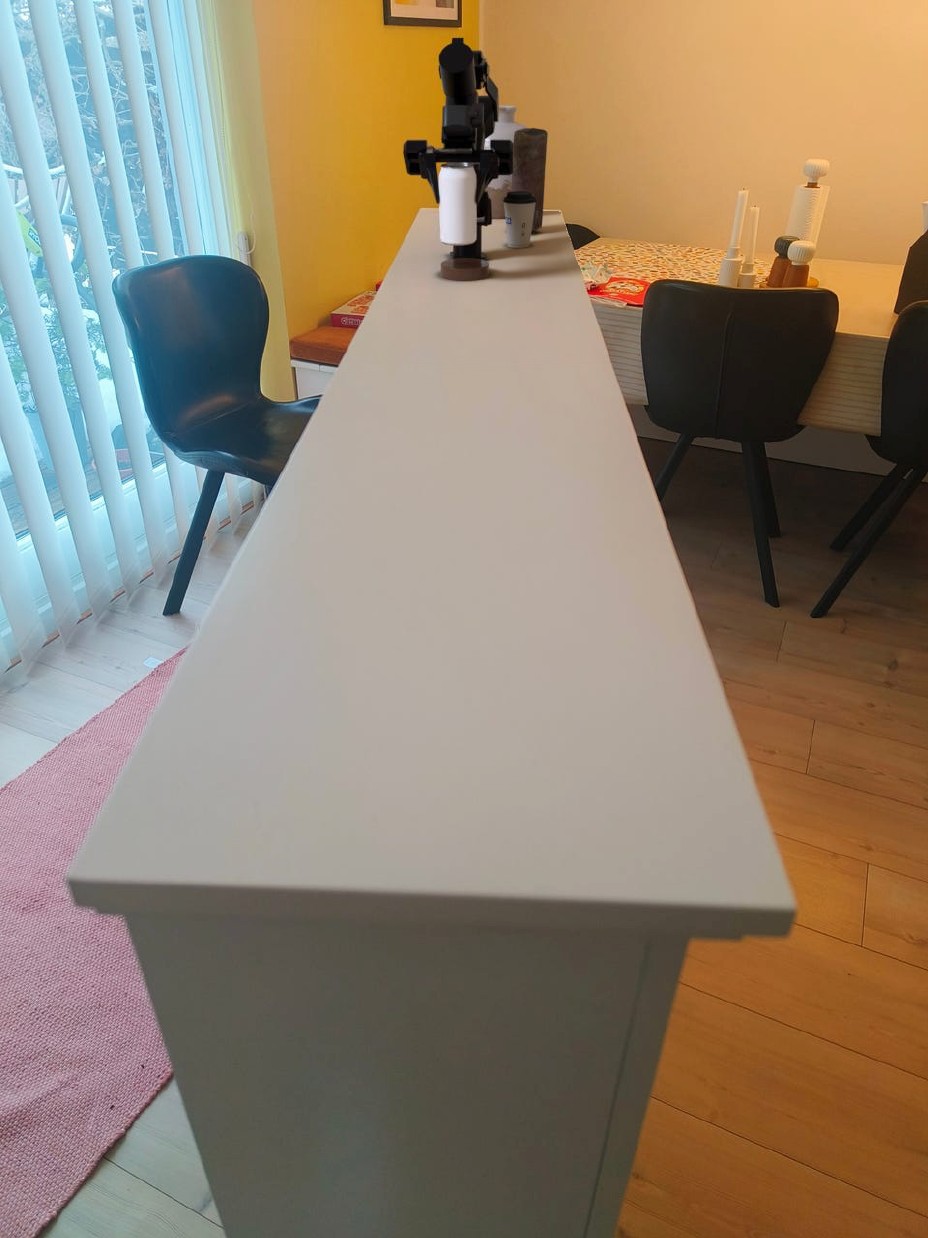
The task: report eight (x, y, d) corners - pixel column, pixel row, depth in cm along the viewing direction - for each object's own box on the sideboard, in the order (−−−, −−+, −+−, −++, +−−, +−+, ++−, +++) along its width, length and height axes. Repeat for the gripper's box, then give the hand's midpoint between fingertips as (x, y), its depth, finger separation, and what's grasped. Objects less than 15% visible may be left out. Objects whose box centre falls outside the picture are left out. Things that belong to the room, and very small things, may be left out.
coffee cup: (537, 242, 175) (539, 190, 169) (532, 249, 169) (534, 195, 164) (505, 241, 176) (506, 189, 170) (499, 248, 171) (500, 194, 165)
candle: (546, 229, 186) (551, 127, 175) (538, 236, 181) (542, 131, 169) (514, 228, 188) (517, 127, 177) (505, 234, 183) (507, 130, 171)
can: (439, 238, 147) (437, 162, 140) (474, 237, 147) (474, 161, 140) (441, 246, 142) (439, 168, 135) (478, 245, 142) (478, 167, 135)
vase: (475, 222, 194) (475, 109, 181) (461, 210, 207) (460, 104, 194) (539, 219, 197) (543, 107, 184) (521, 208, 210) (525, 103, 196)
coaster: (438, 269, 156) (438, 258, 154) (485, 268, 156) (485, 257, 155) (442, 281, 148) (442, 269, 147) (491, 279, 149) (492, 268, 148)
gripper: (401, 83, 134) (396, 169, 132) (514, 82, 133) (511, 169, 131) (409, 132, 145) (405, 213, 143) (514, 132, 144) (511, 213, 142)
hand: (456, 201), depth 139 cm, fingers closed on can, 6 cm apart
